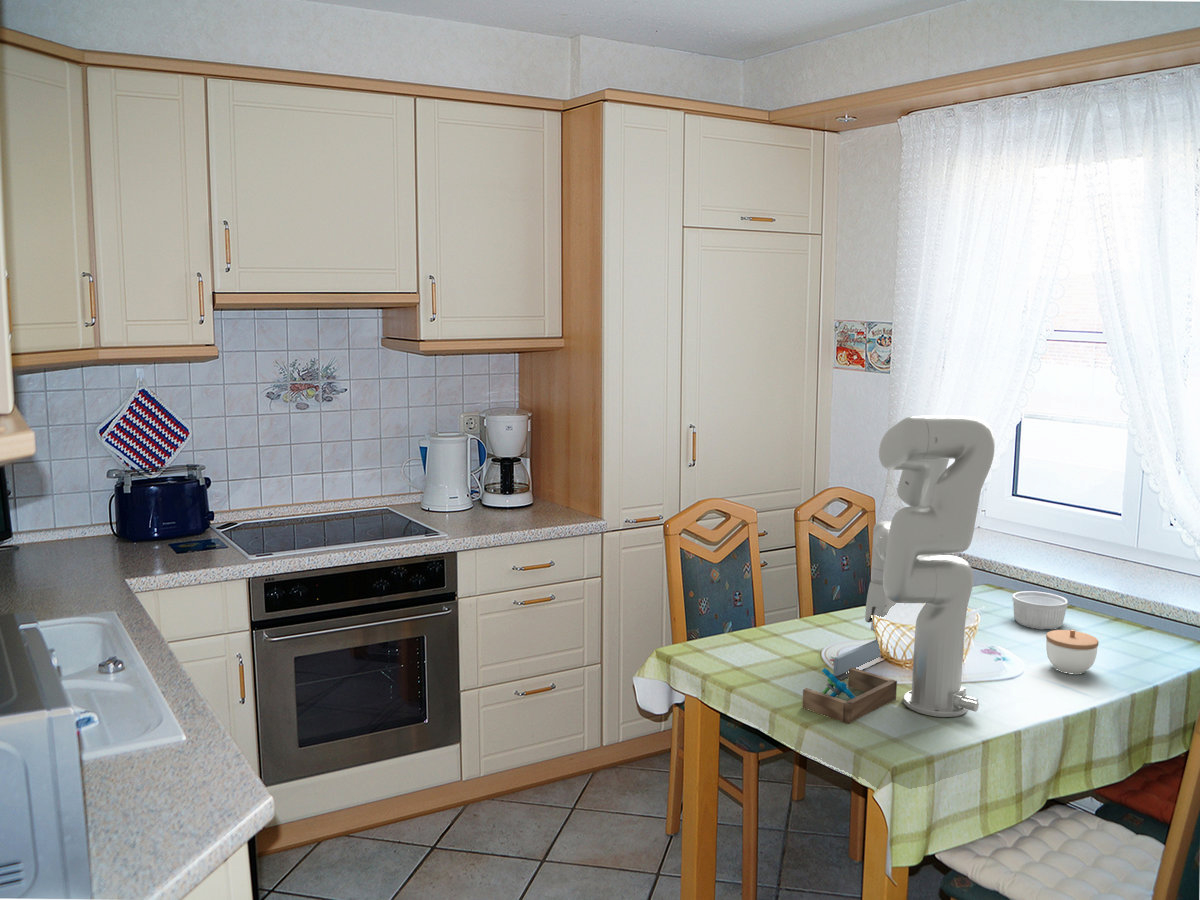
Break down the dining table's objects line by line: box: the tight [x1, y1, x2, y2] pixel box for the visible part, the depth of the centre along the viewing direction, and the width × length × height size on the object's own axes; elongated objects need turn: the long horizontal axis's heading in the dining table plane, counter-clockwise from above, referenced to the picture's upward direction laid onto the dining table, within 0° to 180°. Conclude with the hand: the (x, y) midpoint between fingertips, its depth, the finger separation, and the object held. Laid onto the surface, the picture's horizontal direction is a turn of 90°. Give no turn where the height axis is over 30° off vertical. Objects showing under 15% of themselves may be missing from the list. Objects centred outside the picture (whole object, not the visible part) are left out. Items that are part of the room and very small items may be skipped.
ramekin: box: [1011, 590, 1069, 630], centre depth 262 cm, size 13×13×7 cm
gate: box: [832, 638, 881, 676], centre depth 228 cm, size 1×18×4 cm, turn 135°
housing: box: [802, 668, 898, 725], centre depth 217 cm, size 17×38×4 cm, turn 134°
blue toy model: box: [821, 667, 857, 700], centre depth 208 cm, size 11×6×10 cm
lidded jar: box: [1045, 629, 1099, 674], centre depth 228 cm, size 11×11×9 cm
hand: (883, 650), depth 236 cm, fingers closed
